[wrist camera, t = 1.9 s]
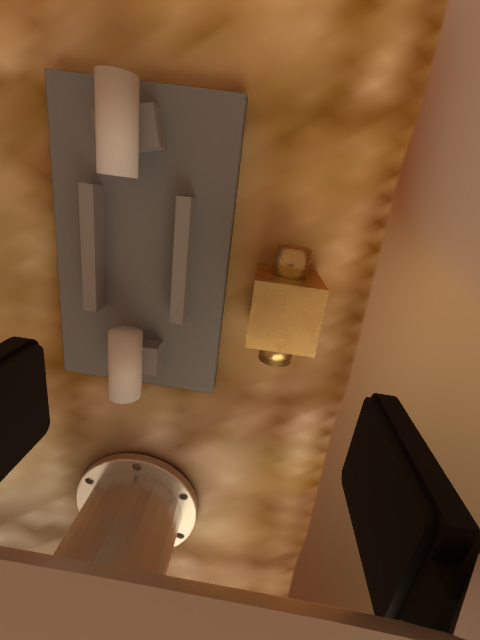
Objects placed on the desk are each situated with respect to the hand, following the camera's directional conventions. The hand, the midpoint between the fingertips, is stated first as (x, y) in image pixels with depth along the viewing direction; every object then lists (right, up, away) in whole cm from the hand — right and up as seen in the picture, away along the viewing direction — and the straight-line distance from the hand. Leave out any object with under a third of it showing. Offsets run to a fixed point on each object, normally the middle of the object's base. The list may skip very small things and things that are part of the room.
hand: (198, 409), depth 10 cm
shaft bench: (-6, +8, +16) cm, 19 cm away
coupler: (+5, +5, +17) cm, 18 cm away
